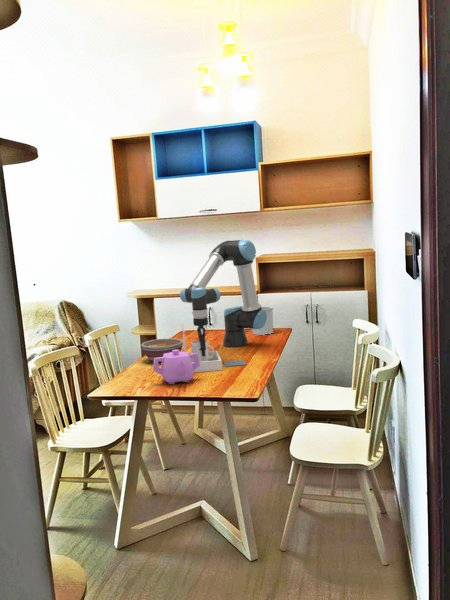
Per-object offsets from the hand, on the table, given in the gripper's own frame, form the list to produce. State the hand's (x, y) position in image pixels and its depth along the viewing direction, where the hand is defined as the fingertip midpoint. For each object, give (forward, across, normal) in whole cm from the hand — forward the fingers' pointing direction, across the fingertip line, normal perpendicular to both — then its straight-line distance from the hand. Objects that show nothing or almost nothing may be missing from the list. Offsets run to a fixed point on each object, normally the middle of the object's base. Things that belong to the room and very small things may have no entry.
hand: (203, 359), depth 297 cm
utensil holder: (+5, -77, +45) cm, 89 cm away
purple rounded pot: (+3, +26, -14) cm, 30 cm away
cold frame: (+3, 0, -1) cm, 3 cm away
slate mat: (+3, +1, +16) cm, 17 cm away
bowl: (+3, -22, -21) cm, 31 cm away
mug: (+1, +1, 0) cm, 1 cm away
